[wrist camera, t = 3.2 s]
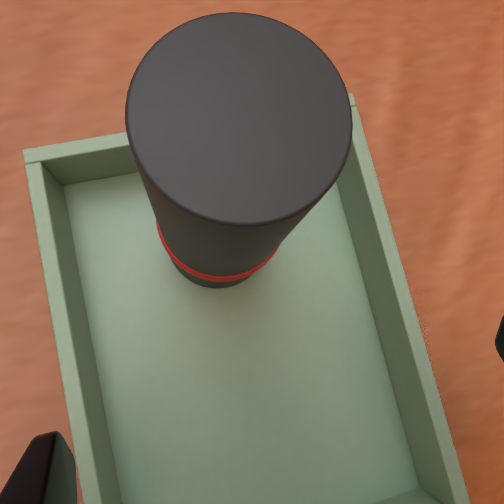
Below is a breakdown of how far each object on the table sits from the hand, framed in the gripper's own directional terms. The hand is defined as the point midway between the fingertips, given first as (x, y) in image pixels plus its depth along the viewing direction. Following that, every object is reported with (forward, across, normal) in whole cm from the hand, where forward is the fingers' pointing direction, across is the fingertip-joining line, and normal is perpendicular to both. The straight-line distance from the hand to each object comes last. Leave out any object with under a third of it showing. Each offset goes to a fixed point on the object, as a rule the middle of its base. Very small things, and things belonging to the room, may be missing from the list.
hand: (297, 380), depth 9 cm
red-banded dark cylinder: (+11, 0, +4) cm, 12 cm away
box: (+9, 0, +8) cm, 12 cm away
